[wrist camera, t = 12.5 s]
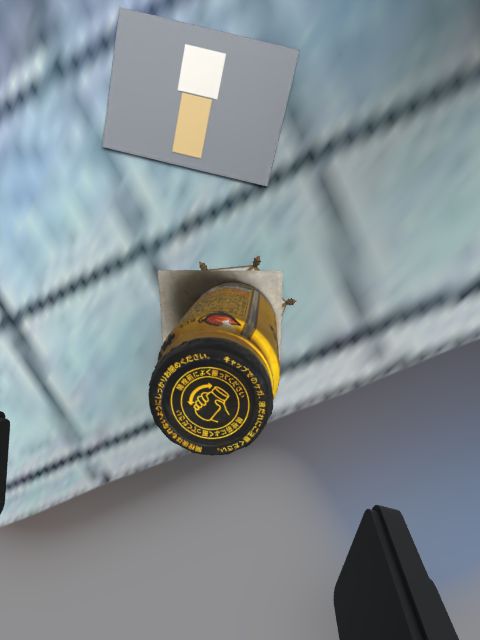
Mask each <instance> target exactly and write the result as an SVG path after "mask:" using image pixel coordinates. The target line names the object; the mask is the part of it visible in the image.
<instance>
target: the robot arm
mask: <svg viewBox="0 0 480 640" xmlns="http://www.w3.org/2000/svg"><path fill="white" fill-rule="evenodd" d="M9 432H10V421H9V420H8V419H5V414H4V413H3V412H1V411H0V514H1V512H2V510H3V508H4V504H5V492H6V477H7V462H8V447H9ZM334 607H335V614H336V620H337V626H338V633H339V639H340V640H459V639H458V636H457V634H456V632H455V630H454V627H453V625H452V623H451V620H450V618H449V616H448V613H447V611H446V609H445V607H444V604H443V602H442V600H441V598H440V595H439V593H438V591H437V588H436V586H435V585H434V583H433V581H432V580H431V579H430V578H429V577H428V574H427V572H426V570H425V568H424V565H423V563H422V560H421V558H420V556H419V553H418V551H417V549H416V546H415V544H414V542H413V540H412V537H411V535H410V532H409V530H408V528H407V525H406V523H405V521H404V518H403V516H402V514H401V512H400V511H398V510H395V509H391V508H387V507H383V506H379V505H375V506H374V507H373V508H372V510H370V509H367V510H366V511H365V513H364V515H363V518H362V520H361V523H360V525H359V528H358V530H357V533H356V535H355V538H354V540H353V543H352V545H351V548H350V550H349V553H348V555H347V558H346V561H345V563H344V565H343V568H342V570H341V573H340V576H339V578H338V581H337V583H336V586H335V590H334Z"/></svg>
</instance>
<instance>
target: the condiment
mask: <svg viewBox="0 0 480 640" xmlns="http://www.w3.org/2000/svg"><path fill="white" fill-rule="evenodd" d="M158 281H159V292H160V307H161V322H162V339H163V345H162V347H161V350H160V352H159V357H158V363H157V365H156V366H155V370H154V371H153V373H152V377H151V380H150V383H149V386H150V388H149V405H150V409H151V413H152V415H153V418H154V421H155V423H156V425H157V426H158V427H159V428H160V429H161V431H162V432H163V433H164V434H165V435H166V437H167V438H168V439H169V440H170V441H172V442H173V443H175V444H178V445H179V446H181V447H183V448H185V449H187V450H189V451H191V452H193V453H198V454H206V455H223V454H230V453H232V452H234V451H236V450H238V449H241V448H244V447H247V446H248V445H250V444H251V443H252V442H253V441H254V440H255V439H256V438H257V437H258V436H259V435H260V433H261V431H262V430H263V429H264V427H265V426H266V424H267V421H268V419H269V417H270V415H271V414H272V410H273V399H274V398H275V395H276V393H277V389H278V385H279V379H280V363H281V322H282V285H283V271H244V270H234V271H231V270H222V271H219V270H214V271H203V270H176V271H172V270H158Z"/></svg>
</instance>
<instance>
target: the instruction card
mask: <svg viewBox="0 0 480 640" xmlns="http://www.w3.org/2000/svg"><path fill="white" fill-rule="evenodd" d="M299 51H300V50H297V49H293V48H289V47H285V46H280V45H276V44H272V43H268V42H264V41H259V40H255V39H251V38H247V37H243V36H238V35H234V34H230V33H226V32H222V31H217V30H213V29H209V28H205V27H201V26H196V25H192V24H188V23H184V22H180V21H175V20H171V19H167V18H163V17H159V16H154V15H150V14H146V13H142V12H138V11H133V10H129V9H125V8H121V7H120V9H119V17H118V25H117V33H116V41H115V49H114V57H113V65H112V73H111V81H110V89H109V97H108V105H107V113H106V121H105V130H104V138H103V146H102V147H104V148H108V149H113V150H117V151H121V152H125V153H129V154H133V155H138V156H142V157H146V158H150V159H154V160H158V161H163V162H167V163H171V164H175V165H179V166H183V167H188V168H192V169H196V170H200V171H204V172H208V173H213V174H217V175H221V176H225V177H229V178H233V179H237V180H242V181H246V182H250V183H254V184H258V185H262V186H268V181H269V177H270V173H271V169H272V165H273V160H274V156H275V152H276V148H277V144H278V139H279V135H280V131H281V127H282V123H283V118H284V114H285V110H286V106H287V102H288V97H289V93H290V89H291V85H292V80H293V76H294V72H295V68H296V64H297V59H298V55H299Z"/></svg>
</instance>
